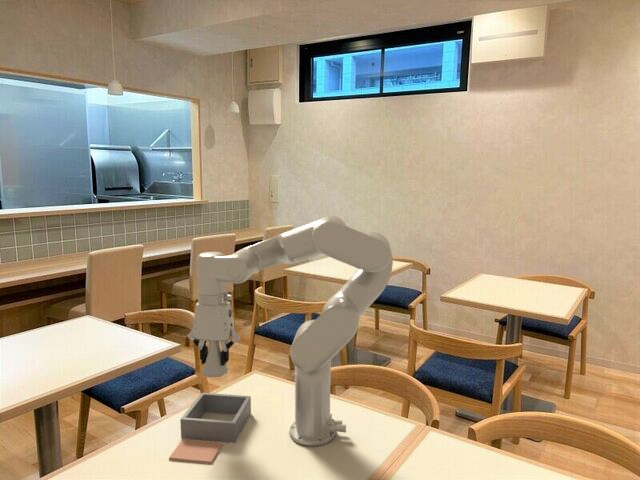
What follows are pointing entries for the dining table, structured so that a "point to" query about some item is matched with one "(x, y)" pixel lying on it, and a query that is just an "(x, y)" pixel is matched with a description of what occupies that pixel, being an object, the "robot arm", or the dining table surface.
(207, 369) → the flask
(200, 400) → the box frame
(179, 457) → the mat
